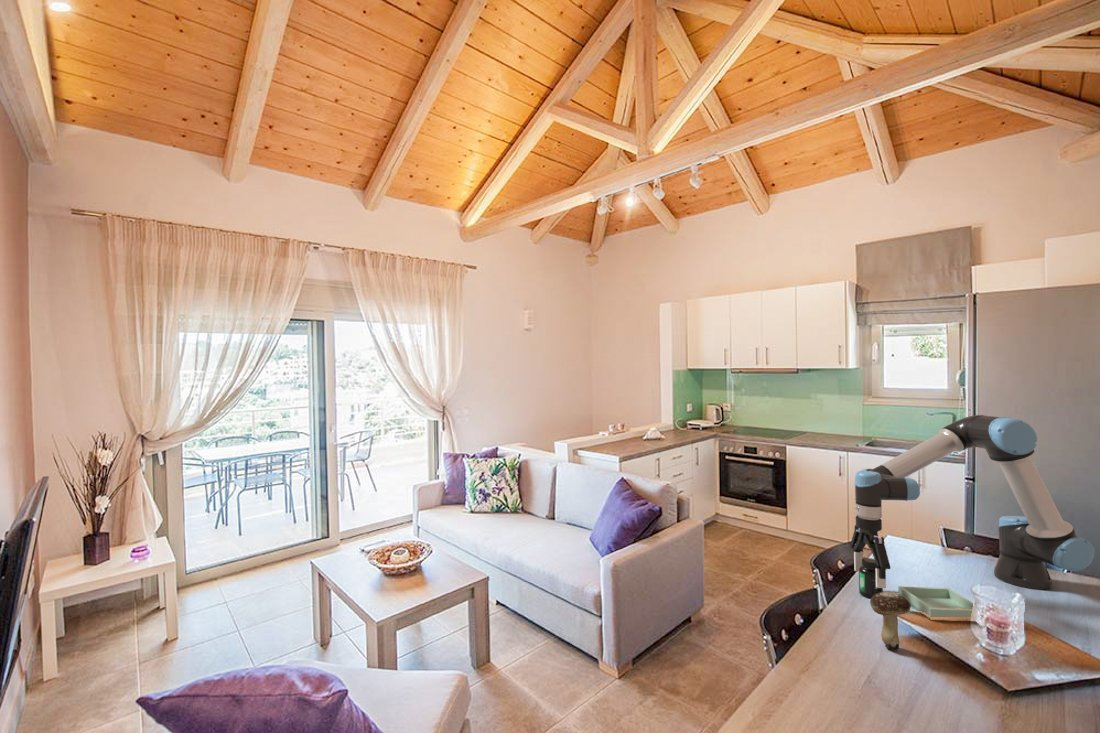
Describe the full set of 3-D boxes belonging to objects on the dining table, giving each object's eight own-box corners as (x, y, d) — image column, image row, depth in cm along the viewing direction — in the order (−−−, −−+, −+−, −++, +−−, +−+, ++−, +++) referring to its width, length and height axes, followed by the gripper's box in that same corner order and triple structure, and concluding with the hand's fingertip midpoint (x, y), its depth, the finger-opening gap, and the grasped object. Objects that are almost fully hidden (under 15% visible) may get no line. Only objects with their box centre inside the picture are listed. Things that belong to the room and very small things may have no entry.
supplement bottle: (861, 598, 163) (860, 562, 163) (857, 589, 169) (856, 555, 170) (885, 601, 161) (884, 565, 161) (880, 592, 167) (879, 558, 167)
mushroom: (905, 643, 136) (903, 589, 136) (917, 660, 128) (915, 603, 128) (866, 637, 139) (865, 585, 139) (875, 654, 131) (874, 598, 131)
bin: (949, 598, 162) (948, 588, 162) (987, 622, 146) (986, 611, 146) (898, 596, 164) (898, 586, 164) (930, 620, 148) (930, 609, 148)
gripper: (839, 506, 178) (840, 564, 178) (877, 528, 153) (878, 594, 153) (860, 507, 177) (861, 565, 177) (902, 528, 152) (903, 595, 152)
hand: (869, 579), depth 165 cm, fingers open, 13 cm apart
